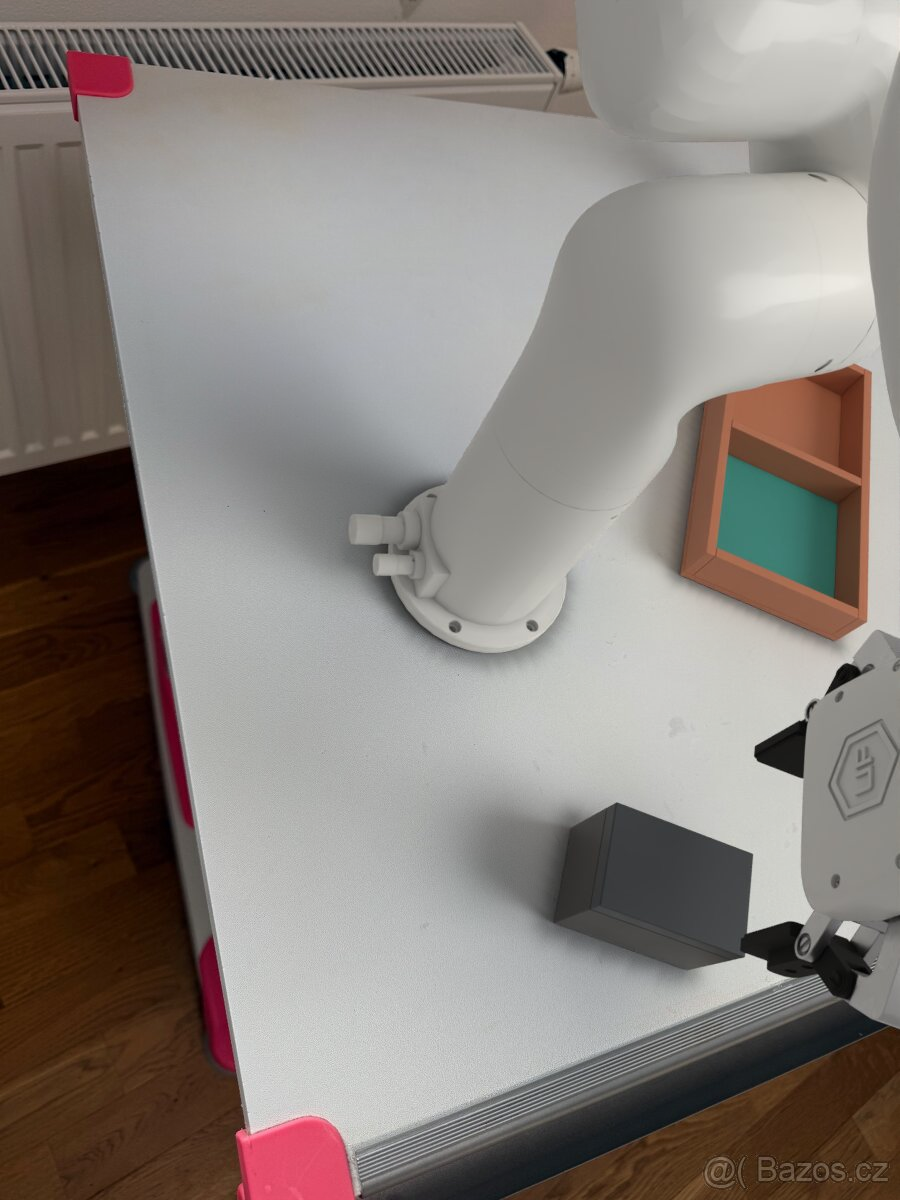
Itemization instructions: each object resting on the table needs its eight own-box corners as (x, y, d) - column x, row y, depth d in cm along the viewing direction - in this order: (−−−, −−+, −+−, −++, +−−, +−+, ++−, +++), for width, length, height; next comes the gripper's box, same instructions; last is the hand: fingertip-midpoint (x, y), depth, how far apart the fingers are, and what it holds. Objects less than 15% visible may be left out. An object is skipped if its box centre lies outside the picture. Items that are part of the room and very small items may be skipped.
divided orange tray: (679, 575, 72) (706, 551, 69) (714, 334, 86) (737, 306, 83) (835, 641, 74) (867, 621, 71) (844, 396, 88) (872, 371, 85)
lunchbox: (553, 923, 57) (599, 905, 52) (571, 827, 60) (616, 801, 55) (687, 970, 58) (745, 957, 53) (698, 874, 61) (753, 853, 56)
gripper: (966, 498, 37) (720, 674, 51) (998, 956, 28) (686, 1016, 42) (1126, 570, 38) (842, 723, 52) (1209, 1033, 29) (836, 1066, 43)
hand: (773, 853), depth 47 cm, fingers open, 9 cm apart
